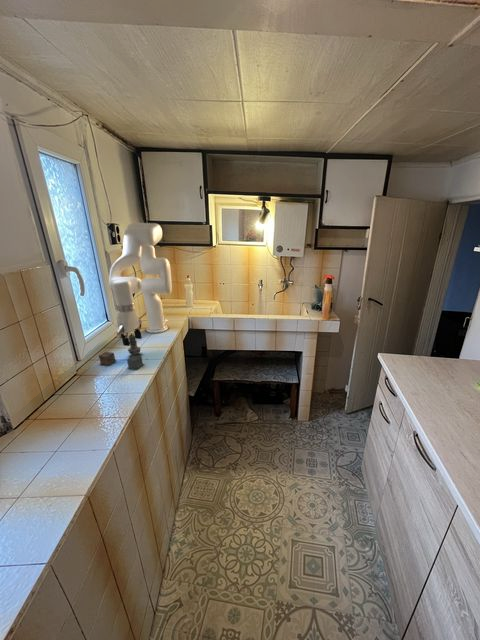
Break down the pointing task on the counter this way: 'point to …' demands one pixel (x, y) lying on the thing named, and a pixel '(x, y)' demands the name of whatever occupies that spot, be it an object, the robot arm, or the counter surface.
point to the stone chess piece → (133, 346)
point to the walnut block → (107, 358)
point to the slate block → (135, 362)
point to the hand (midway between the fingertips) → (132, 341)
